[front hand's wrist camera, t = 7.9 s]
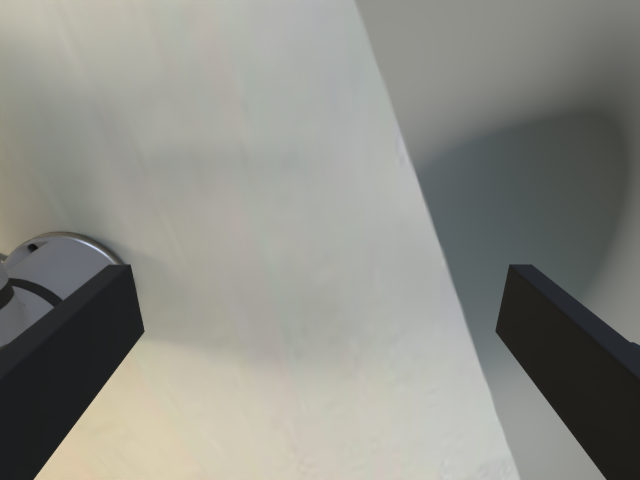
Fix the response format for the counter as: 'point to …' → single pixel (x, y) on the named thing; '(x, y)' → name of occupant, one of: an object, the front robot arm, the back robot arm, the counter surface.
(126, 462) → the counter surface
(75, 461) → the counter surface
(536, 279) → the front robot arm
